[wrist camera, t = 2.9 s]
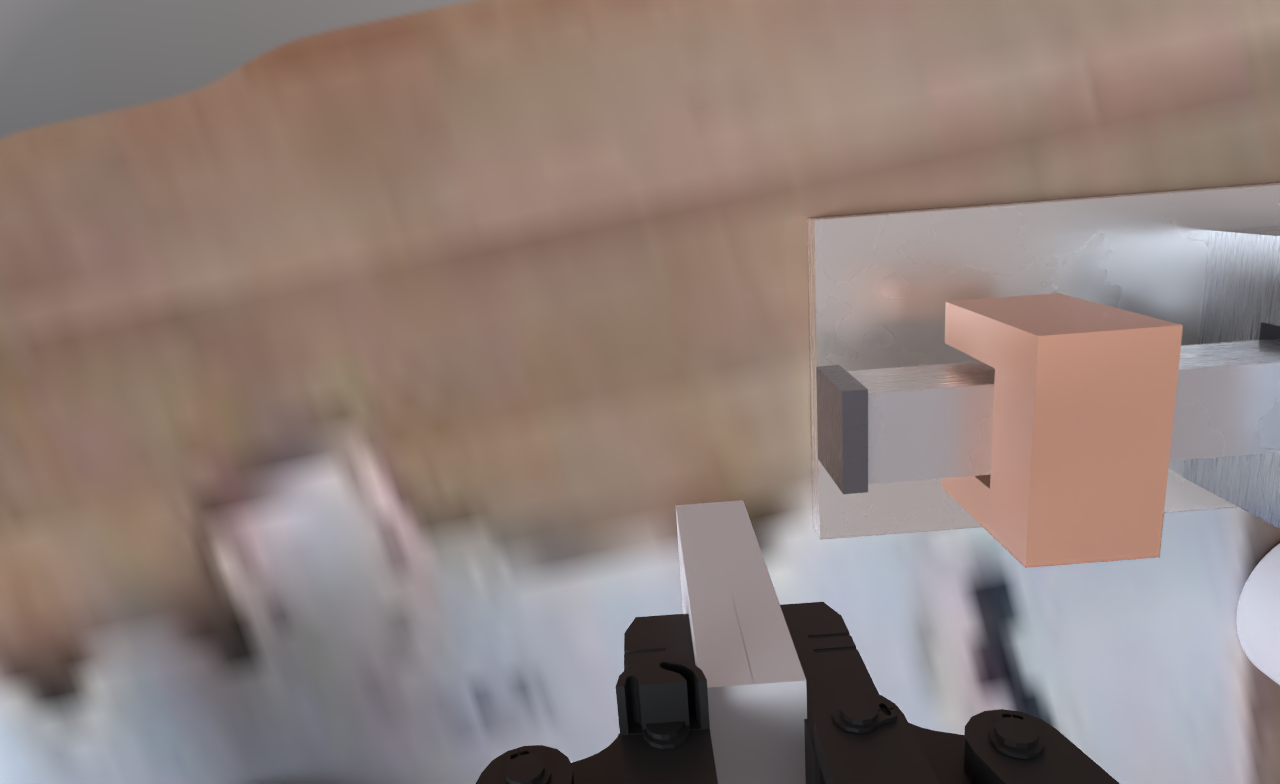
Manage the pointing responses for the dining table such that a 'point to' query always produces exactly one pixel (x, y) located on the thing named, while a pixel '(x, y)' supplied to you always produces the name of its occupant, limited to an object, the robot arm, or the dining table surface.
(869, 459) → the shaft
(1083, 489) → the block
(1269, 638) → the beverage can
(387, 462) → the dining table surface
